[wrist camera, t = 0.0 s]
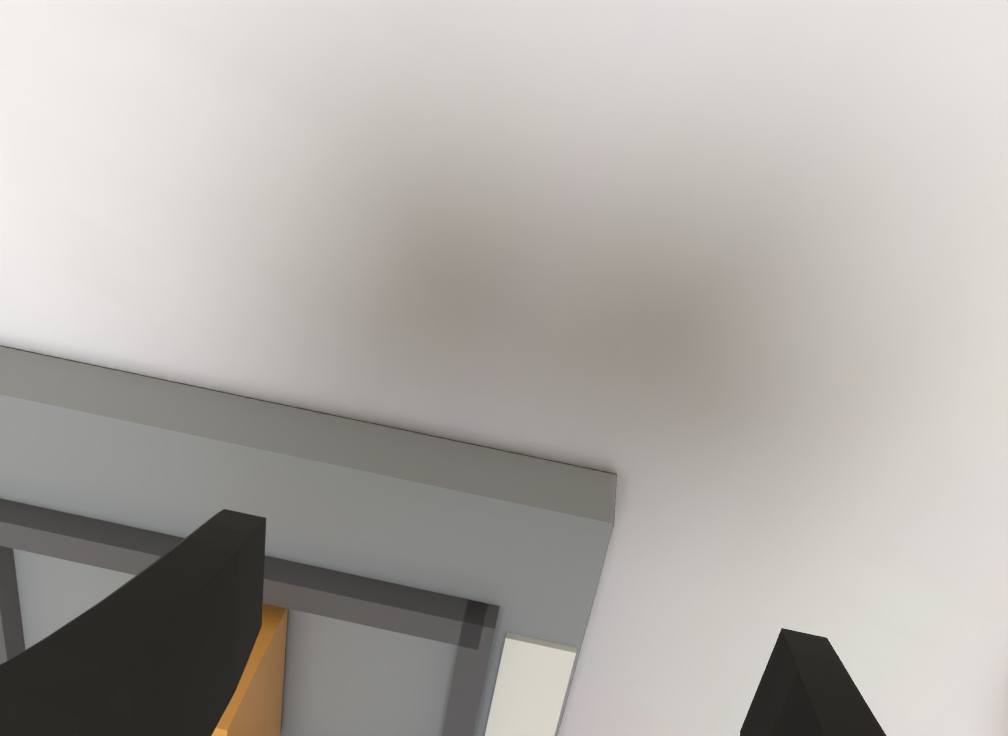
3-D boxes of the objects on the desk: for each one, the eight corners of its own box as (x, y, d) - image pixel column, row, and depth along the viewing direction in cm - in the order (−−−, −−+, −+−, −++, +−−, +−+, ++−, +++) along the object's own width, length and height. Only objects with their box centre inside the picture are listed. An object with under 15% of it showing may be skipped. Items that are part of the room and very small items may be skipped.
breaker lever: (287, 605, 25) (223, 738, 21) (279, 737, 27) (221, 876, 23) (174, 580, 25) (91, 707, 21) (177, 713, 27) (102, 848, 23)
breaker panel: (616, 474, 24) (612, 545, 22) (524, 827, 31) (513, 911, 28) (-72, 331, 25) (-151, 383, 22) (-13, 706, 32) (-69, 777, 29)
